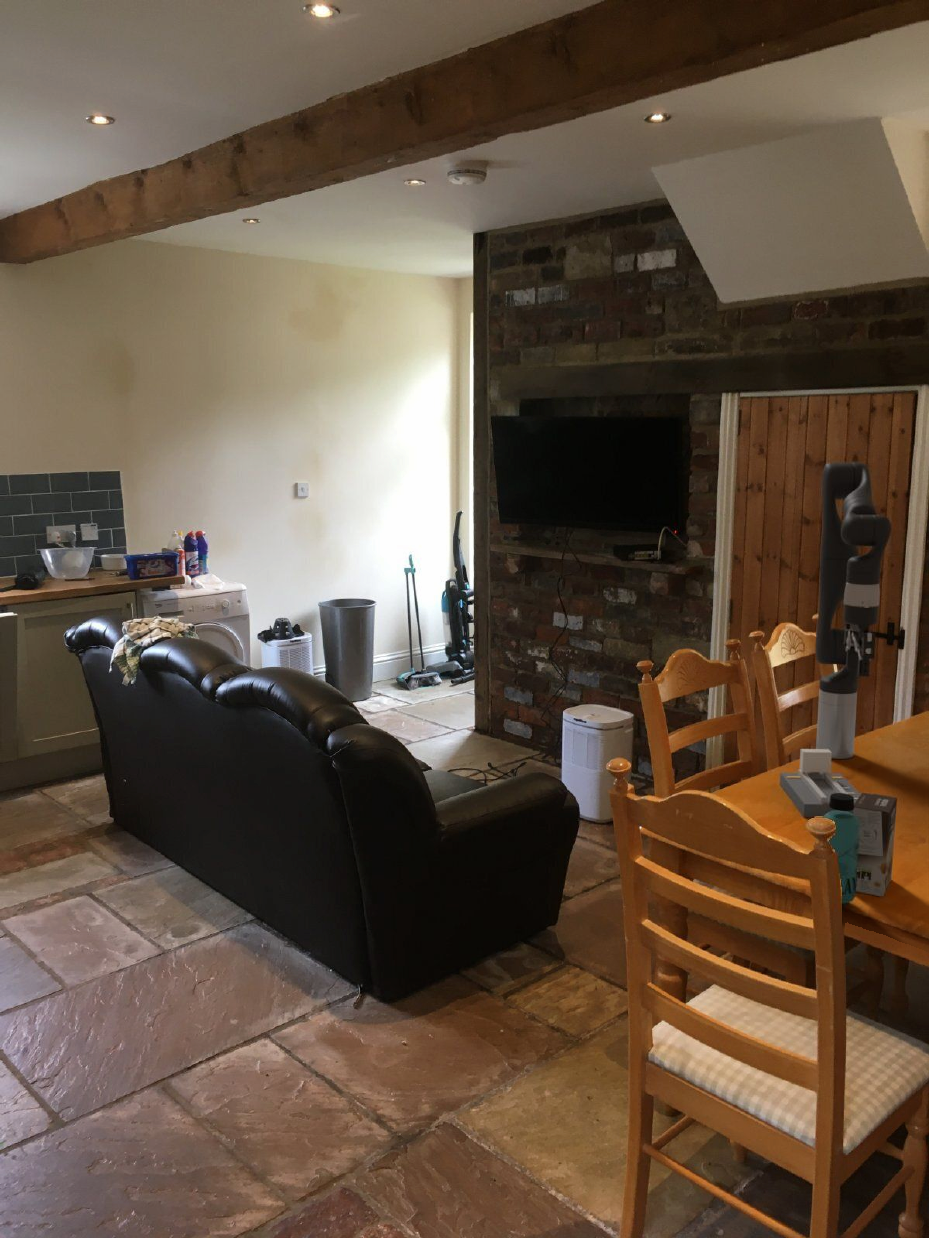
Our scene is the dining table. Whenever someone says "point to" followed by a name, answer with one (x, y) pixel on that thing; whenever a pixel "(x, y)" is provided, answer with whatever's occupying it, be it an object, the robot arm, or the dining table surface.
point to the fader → (815, 762)
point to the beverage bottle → (845, 842)
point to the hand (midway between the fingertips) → (857, 671)
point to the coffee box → (875, 842)
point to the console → (815, 791)
